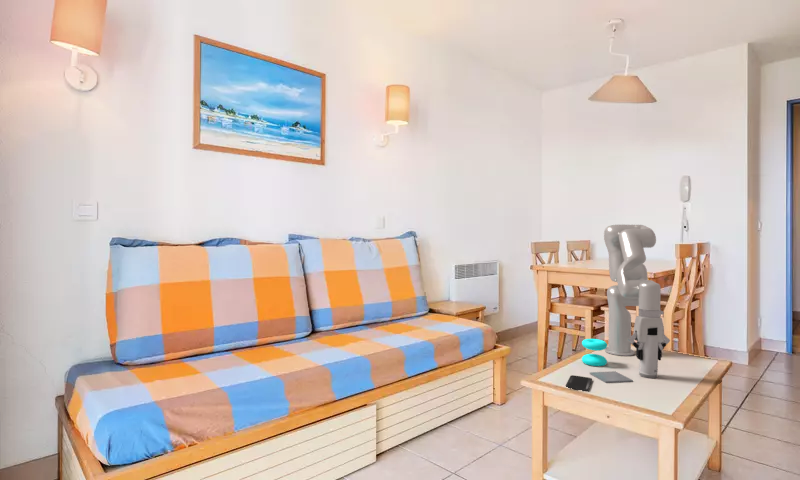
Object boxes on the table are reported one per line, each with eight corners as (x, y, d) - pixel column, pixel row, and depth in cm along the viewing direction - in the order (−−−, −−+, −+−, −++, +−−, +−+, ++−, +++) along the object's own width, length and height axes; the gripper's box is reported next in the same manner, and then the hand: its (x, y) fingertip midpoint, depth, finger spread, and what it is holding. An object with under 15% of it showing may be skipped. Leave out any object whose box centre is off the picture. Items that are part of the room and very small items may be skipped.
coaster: (589, 373, 182) (589, 372, 182) (615, 372, 183) (615, 371, 183) (605, 382, 171) (605, 381, 171) (632, 381, 173) (632, 380, 173)
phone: (592, 378, 174) (588, 389, 161) (592, 381, 174) (588, 393, 161) (570, 374, 178) (564, 386, 165) (570, 377, 178) (564, 389, 165)
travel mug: (660, 379, 176) (662, 327, 175) (642, 377, 177) (643, 326, 177) (655, 374, 182) (656, 324, 182) (637, 372, 183) (638, 323, 183)
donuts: (588, 336, 203) (611, 340, 196) (588, 359, 203) (611, 364, 196) (577, 340, 196) (600, 344, 189) (577, 363, 196) (600, 368, 189)
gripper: (666, 312, 183) (666, 357, 183) (622, 311, 183) (622, 356, 183) (677, 315, 175) (676, 362, 175) (631, 315, 176) (630, 361, 176)
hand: (648, 358), depth 179 cm, fingers closed on travel mug, 6 cm apart
